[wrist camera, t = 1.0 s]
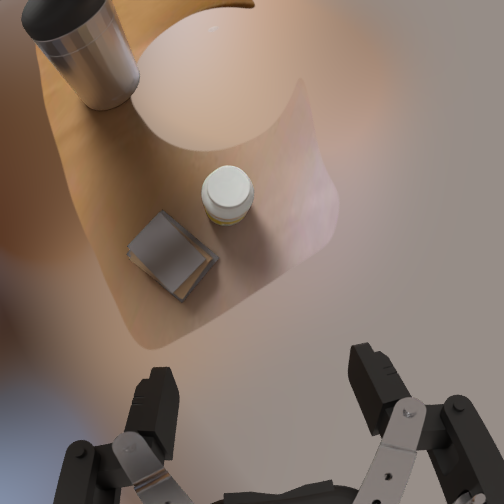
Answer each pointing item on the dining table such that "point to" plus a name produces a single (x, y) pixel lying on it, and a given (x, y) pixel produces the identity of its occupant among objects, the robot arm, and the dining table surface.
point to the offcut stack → (171, 255)
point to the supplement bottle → (227, 195)
